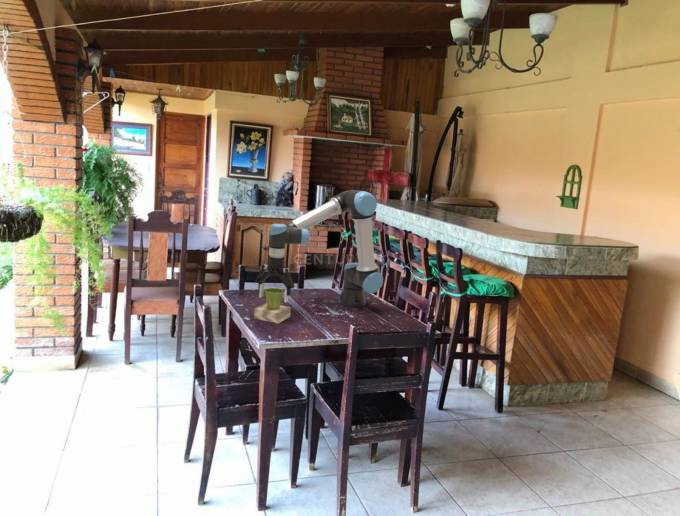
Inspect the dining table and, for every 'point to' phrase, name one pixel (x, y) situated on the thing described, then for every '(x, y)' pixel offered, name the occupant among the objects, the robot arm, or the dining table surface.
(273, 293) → the plant pot
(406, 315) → the dining table surface
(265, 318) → the ash block
